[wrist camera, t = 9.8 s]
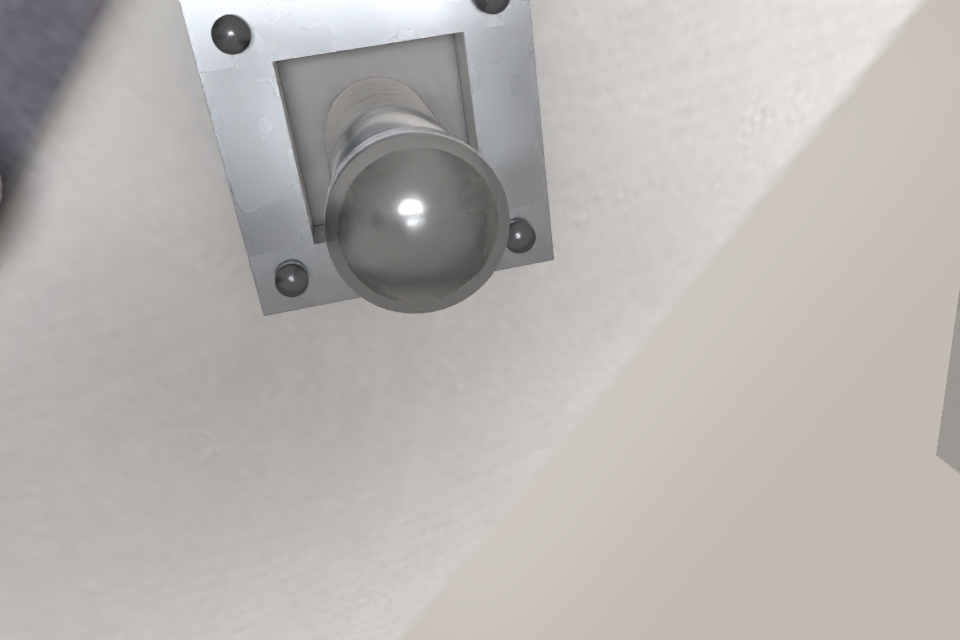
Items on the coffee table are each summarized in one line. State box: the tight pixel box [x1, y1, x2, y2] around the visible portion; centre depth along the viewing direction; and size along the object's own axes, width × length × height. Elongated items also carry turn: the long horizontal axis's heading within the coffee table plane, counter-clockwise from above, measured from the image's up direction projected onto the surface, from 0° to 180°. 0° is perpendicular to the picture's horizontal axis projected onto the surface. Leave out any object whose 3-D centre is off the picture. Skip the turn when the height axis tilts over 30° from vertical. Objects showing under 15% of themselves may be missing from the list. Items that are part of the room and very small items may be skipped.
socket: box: [179, 0, 554, 316], centre depth 30 cm, size 11×11×3 cm
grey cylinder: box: [324, 77, 510, 313], centre depth 26 cm, size 5×5×12 cm
